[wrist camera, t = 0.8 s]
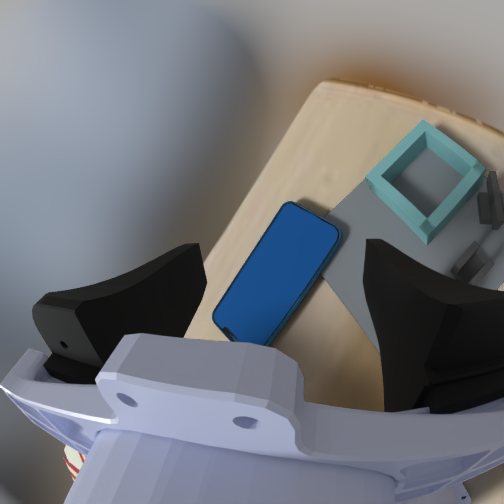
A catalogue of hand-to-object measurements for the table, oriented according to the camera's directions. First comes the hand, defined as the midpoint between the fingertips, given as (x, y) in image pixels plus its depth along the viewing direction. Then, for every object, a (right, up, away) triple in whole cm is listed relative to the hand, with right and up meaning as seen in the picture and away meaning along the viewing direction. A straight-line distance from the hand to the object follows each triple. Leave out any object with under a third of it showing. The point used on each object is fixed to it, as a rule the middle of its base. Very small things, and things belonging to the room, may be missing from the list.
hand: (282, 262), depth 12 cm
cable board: (+13, +2, +9) cm, 16 cm away
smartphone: (+1, -2, +16) cm, 16 cm away
